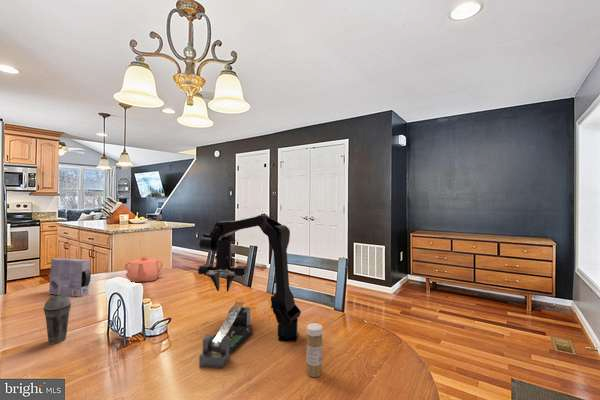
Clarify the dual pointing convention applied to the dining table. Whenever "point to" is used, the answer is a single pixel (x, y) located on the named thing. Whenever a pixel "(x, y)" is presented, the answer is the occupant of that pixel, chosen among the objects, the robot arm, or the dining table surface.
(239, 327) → the disk drive
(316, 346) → the sprinkles bottle
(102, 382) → the dining table surface
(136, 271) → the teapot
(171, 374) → the dining table surface
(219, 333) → the long grey bar
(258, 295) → the dining table surface
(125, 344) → the dining table surface
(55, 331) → the beverage cup
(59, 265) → the cake pan box
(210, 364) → the bracket
